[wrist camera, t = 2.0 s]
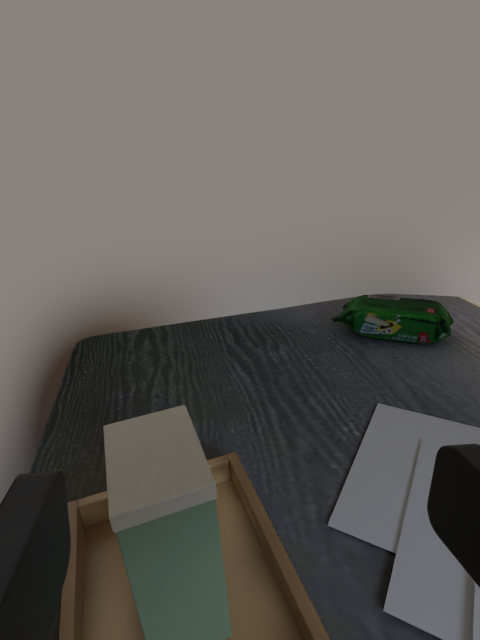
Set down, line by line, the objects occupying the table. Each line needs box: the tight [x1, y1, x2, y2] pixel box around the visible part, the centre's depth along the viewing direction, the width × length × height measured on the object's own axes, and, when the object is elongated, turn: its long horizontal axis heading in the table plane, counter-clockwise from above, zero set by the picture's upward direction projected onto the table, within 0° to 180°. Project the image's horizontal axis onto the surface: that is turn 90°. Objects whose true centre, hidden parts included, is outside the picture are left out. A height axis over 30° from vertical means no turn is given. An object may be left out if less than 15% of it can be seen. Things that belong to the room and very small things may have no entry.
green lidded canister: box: [103, 405, 232, 640], centre depth 23 cm, size 5×7×12 cm
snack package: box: [332, 295, 453, 344], centre depth 56 cm, size 7×16×5 cm, turn 66°
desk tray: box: [59, 452, 330, 640], centre depth 25 cm, size 14×18×2 cm
